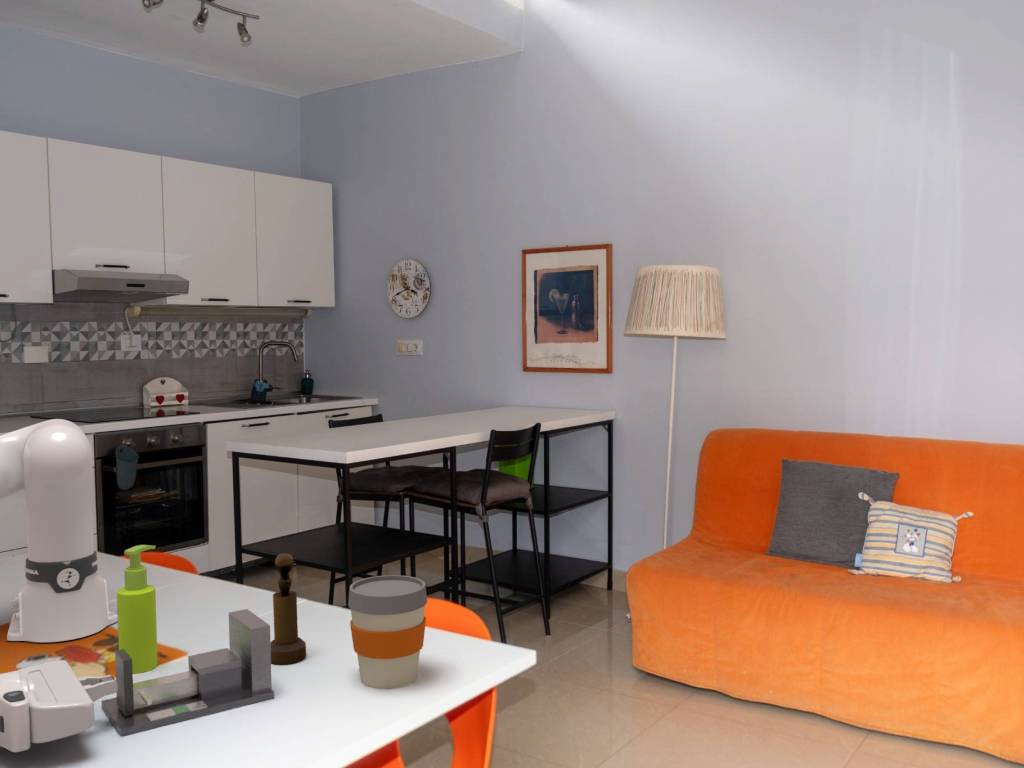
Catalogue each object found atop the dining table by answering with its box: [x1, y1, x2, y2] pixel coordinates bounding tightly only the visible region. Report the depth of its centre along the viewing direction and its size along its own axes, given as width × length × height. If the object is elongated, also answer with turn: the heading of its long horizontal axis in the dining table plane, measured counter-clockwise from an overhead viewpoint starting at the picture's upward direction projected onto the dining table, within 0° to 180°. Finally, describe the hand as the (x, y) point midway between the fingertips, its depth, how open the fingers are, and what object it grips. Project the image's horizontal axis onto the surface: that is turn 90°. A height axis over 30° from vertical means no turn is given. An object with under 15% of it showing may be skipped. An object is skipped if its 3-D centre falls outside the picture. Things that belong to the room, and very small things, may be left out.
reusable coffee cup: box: [347, 574, 428, 689], centre depth 148 cm, size 13×12×15 cm
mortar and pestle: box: [270, 552, 307, 666], centre depth 157 cm, size 7×6×18 cm
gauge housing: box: [101, 608, 275, 737], centre depth 138 cm, size 12×22×11 cm, turn 126°
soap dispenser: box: [116, 544, 159, 674], centre depth 153 cm, size 6×7×20 cm
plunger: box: [114, 649, 199, 716], centre depth 135 cm, size 8×11×8 cm
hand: (115, 683), depth 132 cm, fingers closed
